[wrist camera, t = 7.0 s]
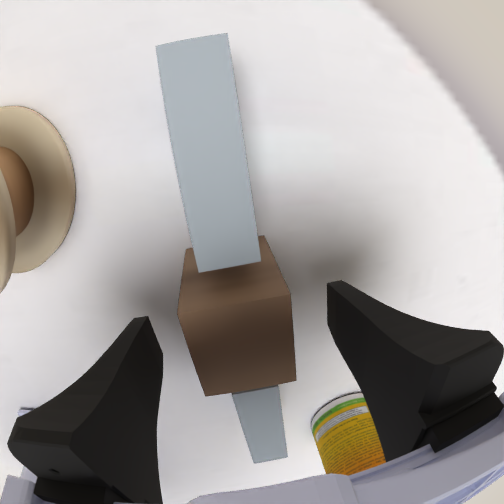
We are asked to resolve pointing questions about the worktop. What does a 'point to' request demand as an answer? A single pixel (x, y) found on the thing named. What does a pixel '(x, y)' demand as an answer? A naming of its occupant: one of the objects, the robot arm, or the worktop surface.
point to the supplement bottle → (347, 436)
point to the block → (238, 324)
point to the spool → (32, 191)
